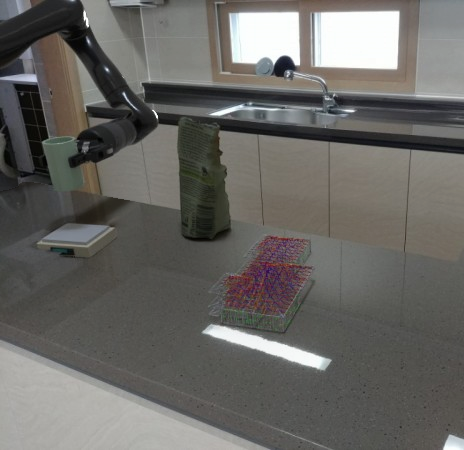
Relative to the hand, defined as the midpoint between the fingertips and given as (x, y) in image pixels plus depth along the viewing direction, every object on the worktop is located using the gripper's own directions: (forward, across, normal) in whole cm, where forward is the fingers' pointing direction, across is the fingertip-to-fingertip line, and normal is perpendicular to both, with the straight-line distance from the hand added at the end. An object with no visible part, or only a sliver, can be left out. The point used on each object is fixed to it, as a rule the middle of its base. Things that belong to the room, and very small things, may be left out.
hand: (55, 162), depth 108 cm
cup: (-2, 0, +6) cm, 6 cm away
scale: (+1, +2, +18) cm, 18 cm away
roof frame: (+11, +47, +18) cm, 51 cm away
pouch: (-10, +27, +18) cm, 34 cm away
